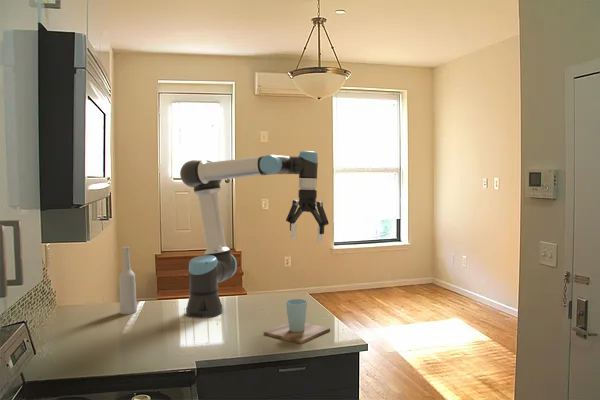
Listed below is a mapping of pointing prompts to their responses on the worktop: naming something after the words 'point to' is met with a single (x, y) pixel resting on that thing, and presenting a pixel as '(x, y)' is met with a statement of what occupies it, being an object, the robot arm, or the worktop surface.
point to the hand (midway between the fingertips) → (306, 240)
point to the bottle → (127, 286)
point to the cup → (296, 314)
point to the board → (297, 333)
